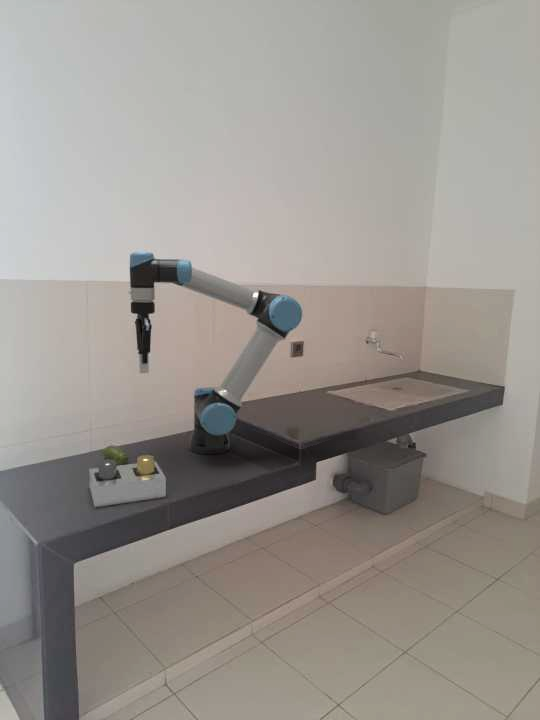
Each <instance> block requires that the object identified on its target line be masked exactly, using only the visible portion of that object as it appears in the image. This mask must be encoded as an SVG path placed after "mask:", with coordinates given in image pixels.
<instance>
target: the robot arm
mask: <svg viewBox="0 0 540 720" xmlns="http://www.w3.org/2000/svg"><path fill="white" fill-rule="evenodd" d="M154 254H155V253H153V252H143V251H141V252H139V251H134V252H133V251H132V252H131V254H130V255H129V281H130V283H129V284H130V290H129V291H128V295H129V294H130V300H131V302H130V312H131V313H132V314H134V315H136V316H137V317H136V318H135V321H134V324H135V333H136V346H137V347H136V349H137V351H138V352H137V353H138V355H139V356H138V362H139V364H138V365H139V366H138V367H139V369H138V370H139V374H149V373H150V367H149V365H150V364H149V361H150V360H149V359H150V358H149V354H150V353H151V338H152V327H153V325H152V323H151V319H150V316H149V315H151V314H154V313H155V312H156V311H155V305H156V303H155V302H154V301H155V299H156V298H155V297H156V296H155V283H157V284H159V283H164V284H166V283H168V284H174V285H177V286H179V287H182V288H185V289H187V290H191V291H193V292H196V293H199V294H200V295H204V296H207V297H209V298H212V299H215V300H217V301H220V302H223V303H226V304H228V305H231V306H234V307H236V308H239V309H241V310H244V311H246V313H247V315H250V316H253V317H254V318H256V319H257V320H256V323H255V324H256V329H255V330H254V333H252V336H251V337H250V338H249V340H248V342H246V345H245V346H244V348H243V349H242V351H241V353H240V354H239V356H238V358H237V359H236V361H235V362H234V364H233V365H232V367H231V368H230V370H229V372H228V373H227V375H226V376H225V378H224V379H223V381H222V383H221V384H220V386H217V387H215V386H213V387H211V386H210V387H198V388H196V389H195V390H194V396H193V399H194V401H193V402H194V404H193V405H194V406H193V407H194V408H193V409H194V410H193V411H194V413H193V415H194V416H193V429H192V433H191V436H190V439H189V442H188V443H189V445H188V448H189V450H190V451H191V452H193V453H196V454H201V455H215V454H216V455H217V454H222V453H225V452H227V451H229V450H230V445H231V444H230V443H231V442H230V439H229V435H228V433H229V432H231V431H232V429H233V428H234V427H235V424H236V423H237V415H238V413H239V412H240V411H241V409H242V407H243V403H242V399H243V397H244V396H245V394H246V392H247V391H248V389H249V388H250V386H251V384H252V383H253V381H254V380H255V378H256V377H257V375H258V373H259V372H260V370H261V369H262V367H263V366H264V364H265V363H266V361H267V360H268V358H269V357H270V355H271V353H272V352H273V350H274V348H275V347H276V346H277V344H278V343H279V342H281V341H284V340H286V338H287V337H288V335H289V333H290V332H291V331H293V330H295V329H296V328H298V326H299V325H300V323H301V322H302V317H303V310H302V307H301V305H300V303H299V302H298V301H297V299H295V298H294V297H291V296H290V295H287V294H280V293H279V294H278V293H271V292H267V291H263V290H260V289H258V288H256V289H254V290H252V289H249V288H247V287H244V286H241V285H240V284H236V283H234V282H231V281H228V280H225V279H224V278H221V277H217V276H215V275H214V274H210V273H207V272H205V271H202V270H199V269H197V268H194V267H193V266H192V262H191V260H189V259H184V258H183V259H182V258H181V259H180V258H179V259H171V258H170V259H169V258H168V259H164V258H161V259H160V258H155V255H154Z"/></svg>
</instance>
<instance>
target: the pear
mask: <svg viewBox="0 0 540 720" xmlns="http://www.w3.org/2000/svg"><path fill="white" fill-rule="evenodd" d="M102 453H103V457H104V460H115V461H116V466H119V465H127V464H128V461H129V457H128V456H127V454H126V453H125V452H123V450H122V448H120V447H118V446H117V445H108V446H106V447H105V448H104V450H103V452H102Z"/></svg>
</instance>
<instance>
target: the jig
mask: <svg viewBox="0 0 540 720" xmlns="http://www.w3.org/2000/svg"><path fill="white" fill-rule="evenodd" d="M88 474H89V475H88V476H89V479H88V480H89V491H90V496H91V499H92V503H93V508H98V507H106V506H111V505H119V504H125V503H134V502H140V501H146V500H153V499H161V498H166V497H167V496H166V495H167V484H166V483H167V482H166V481H167V479H166V476H165V474H164V472H163V470H162V468H161V467H160V465H159V464H158V462H157V461H156V460H154V474H153V475H145V476H137V462H136V463H130V464H129V463H127V464H124V465H116V461H115V460H106V459H102V460H99V461H98V466H97V467H94V468H88Z"/></svg>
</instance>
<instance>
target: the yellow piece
mask: <svg viewBox="0 0 540 720" xmlns="http://www.w3.org/2000/svg"><path fill="white" fill-rule="evenodd" d="M154 461H155V456H153V455H149V454H145V455H140V456H137V461H136V463H137V476H145V475H153V474H154Z"/></svg>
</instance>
